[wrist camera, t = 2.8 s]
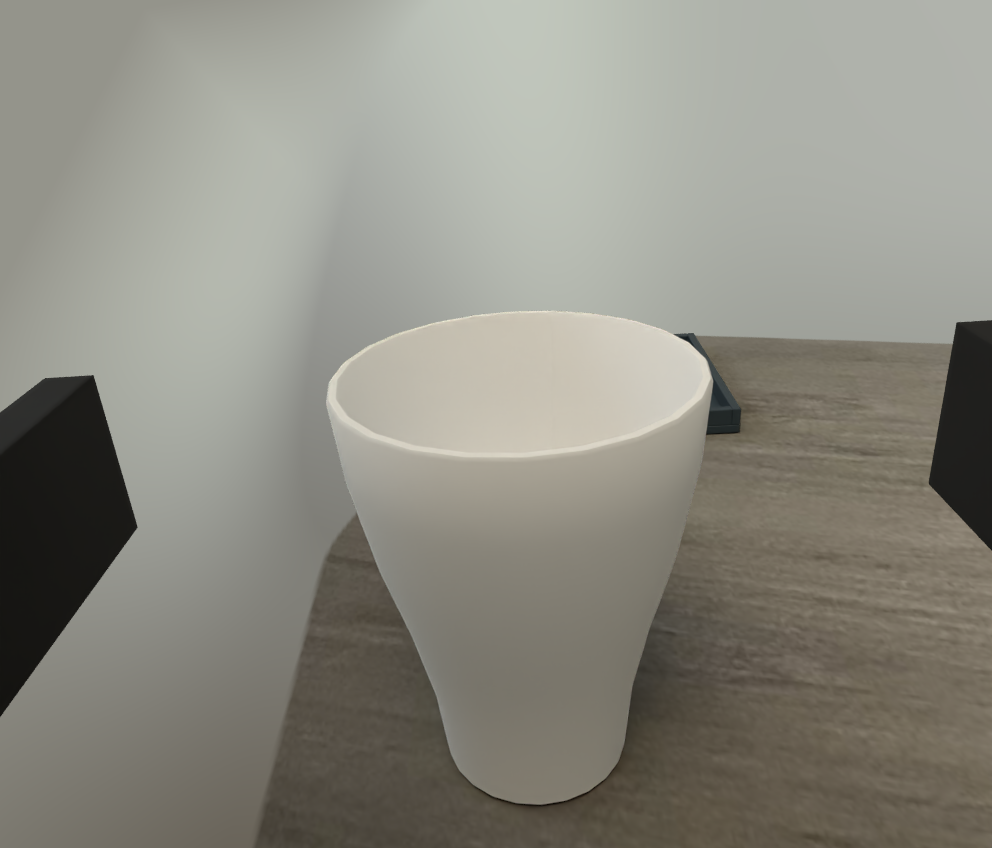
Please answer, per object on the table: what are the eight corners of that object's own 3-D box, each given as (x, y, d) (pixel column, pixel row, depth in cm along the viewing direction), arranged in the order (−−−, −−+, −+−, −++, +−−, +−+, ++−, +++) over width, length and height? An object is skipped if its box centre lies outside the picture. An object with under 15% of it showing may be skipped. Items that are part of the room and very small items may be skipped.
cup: (332, 837, 26) (251, 443, 20) (438, 620, 35) (403, 306, 29) (683, 904, 23) (707, 474, 17) (698, 651, 32) (717, 313, 26)
